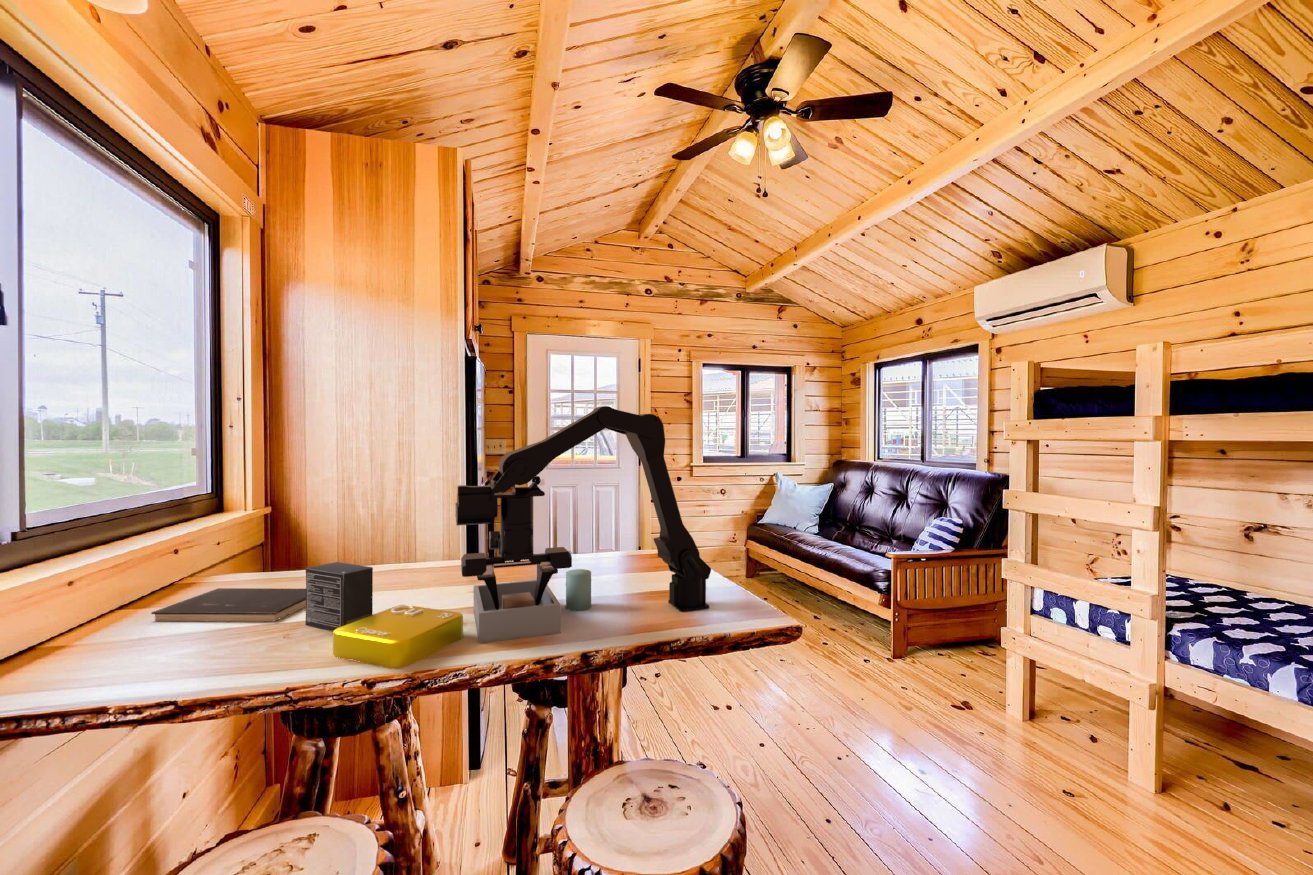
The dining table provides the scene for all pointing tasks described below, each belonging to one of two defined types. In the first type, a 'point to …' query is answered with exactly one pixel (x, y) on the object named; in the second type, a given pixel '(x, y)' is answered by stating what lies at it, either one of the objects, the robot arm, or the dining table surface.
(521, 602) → the walnut cube
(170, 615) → the hardcover book
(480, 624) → the tote
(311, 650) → the dining table surface
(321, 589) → the small box
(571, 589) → the teal cylinder
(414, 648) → the element tile
